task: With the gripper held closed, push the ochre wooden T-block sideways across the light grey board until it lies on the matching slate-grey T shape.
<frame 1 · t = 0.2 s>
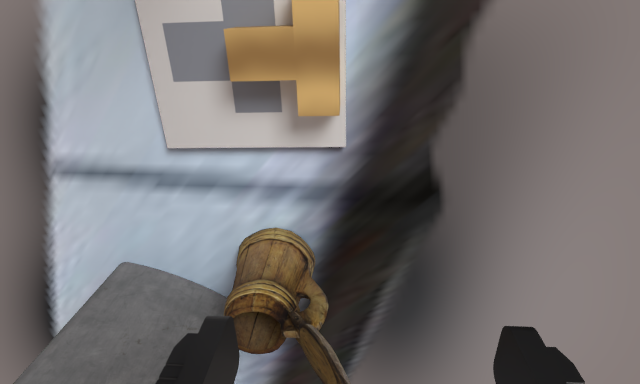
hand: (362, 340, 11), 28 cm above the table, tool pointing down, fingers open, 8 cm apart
t block: (288, 50, 33), point 1 cm above the table, touching t board
wooden mug: (295, 256, 44), on the table
hip flask: (180, 287, 48), on the table
t board: (246, 50, 34), on the table
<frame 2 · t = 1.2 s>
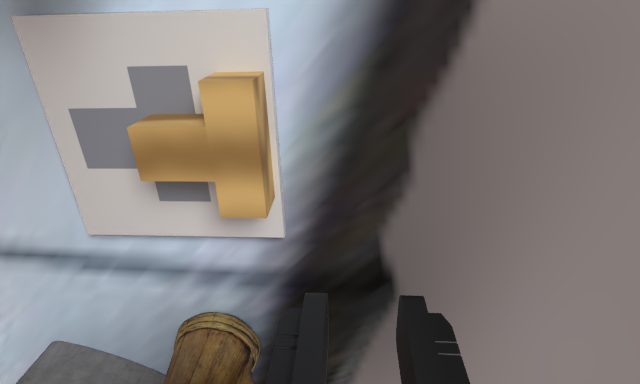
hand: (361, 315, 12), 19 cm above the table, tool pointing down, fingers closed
t block: (212, 139, 29), point 1 cm above the table, touching t board
wooden mug: (240, 339, 41), on the table
hip flask: (119, 365, 44), on the table
t board: (168, 135, 30), on the table
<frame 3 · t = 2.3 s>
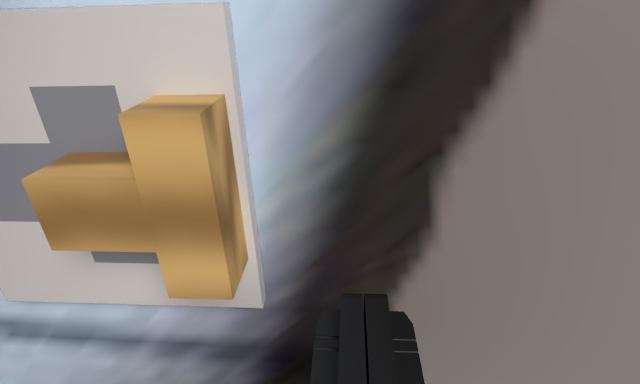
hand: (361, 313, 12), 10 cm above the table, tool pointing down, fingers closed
t block: (158, 185, 21), point 1 cm above the table, touching t board
t board: (101, 177, 22), on the table
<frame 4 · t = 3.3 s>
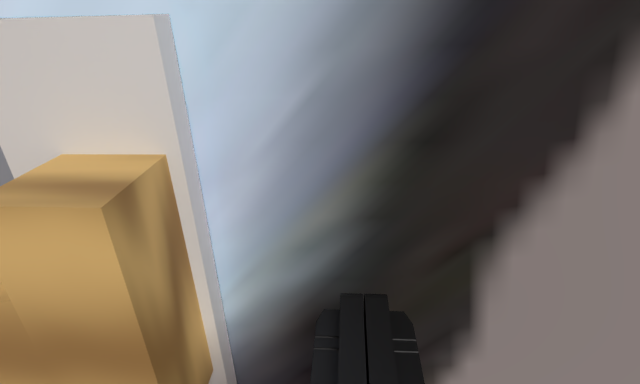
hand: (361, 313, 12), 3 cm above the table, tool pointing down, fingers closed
t block: (79, 276, 15), point 1 cm above the table, touching t board
t board: (3, 258, 16), on the table
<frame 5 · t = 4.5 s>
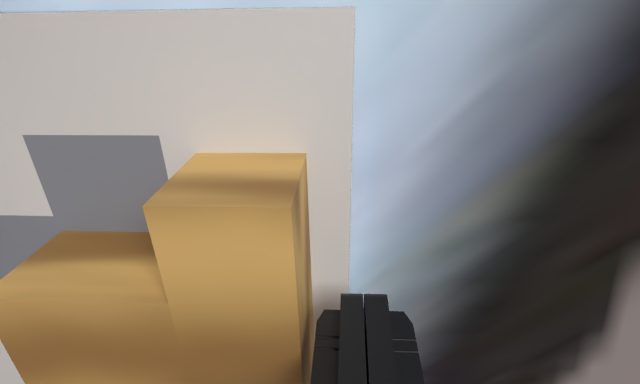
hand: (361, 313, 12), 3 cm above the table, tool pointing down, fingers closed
t block: (192, 277, 14), point 1 cm above the table, touching gripper, t board
t board: (126, 257, 15), on the table
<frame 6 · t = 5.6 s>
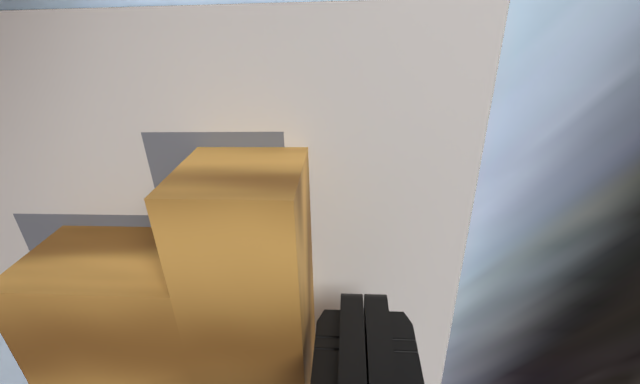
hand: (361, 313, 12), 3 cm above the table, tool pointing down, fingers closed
t block: (193, 272, 14), point 1 cm above the table, touching gripper, t board
t board: (222, 257, 15), on the table
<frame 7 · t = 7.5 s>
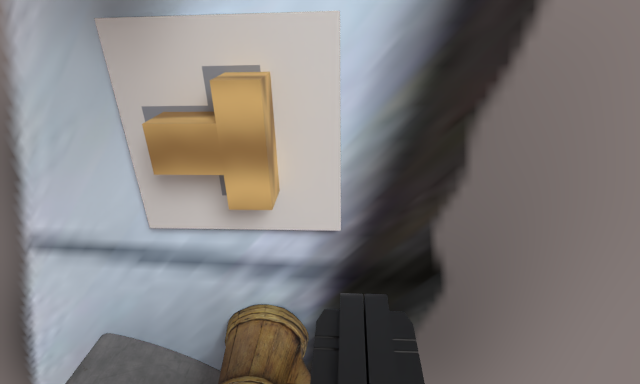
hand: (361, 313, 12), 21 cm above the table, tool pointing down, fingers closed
t block: (221, 135, 31), point 1 cm above the table, touching t board
wooden mug: (287, 331, 42), on the table
hip flask: (166, 357, 45), on the table
t board: (233, 132, 32), on the table
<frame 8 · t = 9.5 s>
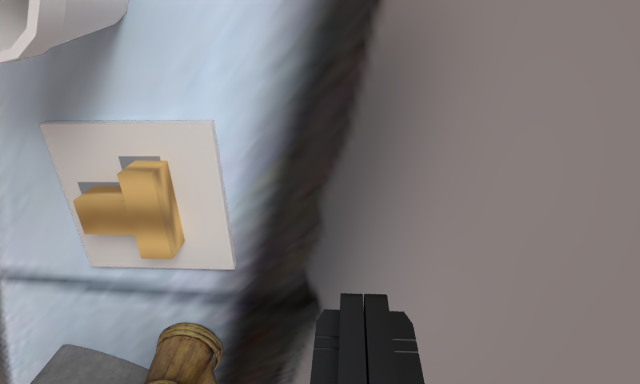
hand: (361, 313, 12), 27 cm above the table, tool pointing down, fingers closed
t block: (137, 202, 42), point 1 cm above the table, touching t board
wooden mug: (207, 343, 53), on the table
hip flask: (115, 363, 56), on the table
t board: (148, 198, 43), on the table
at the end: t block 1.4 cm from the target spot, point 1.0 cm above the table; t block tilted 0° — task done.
